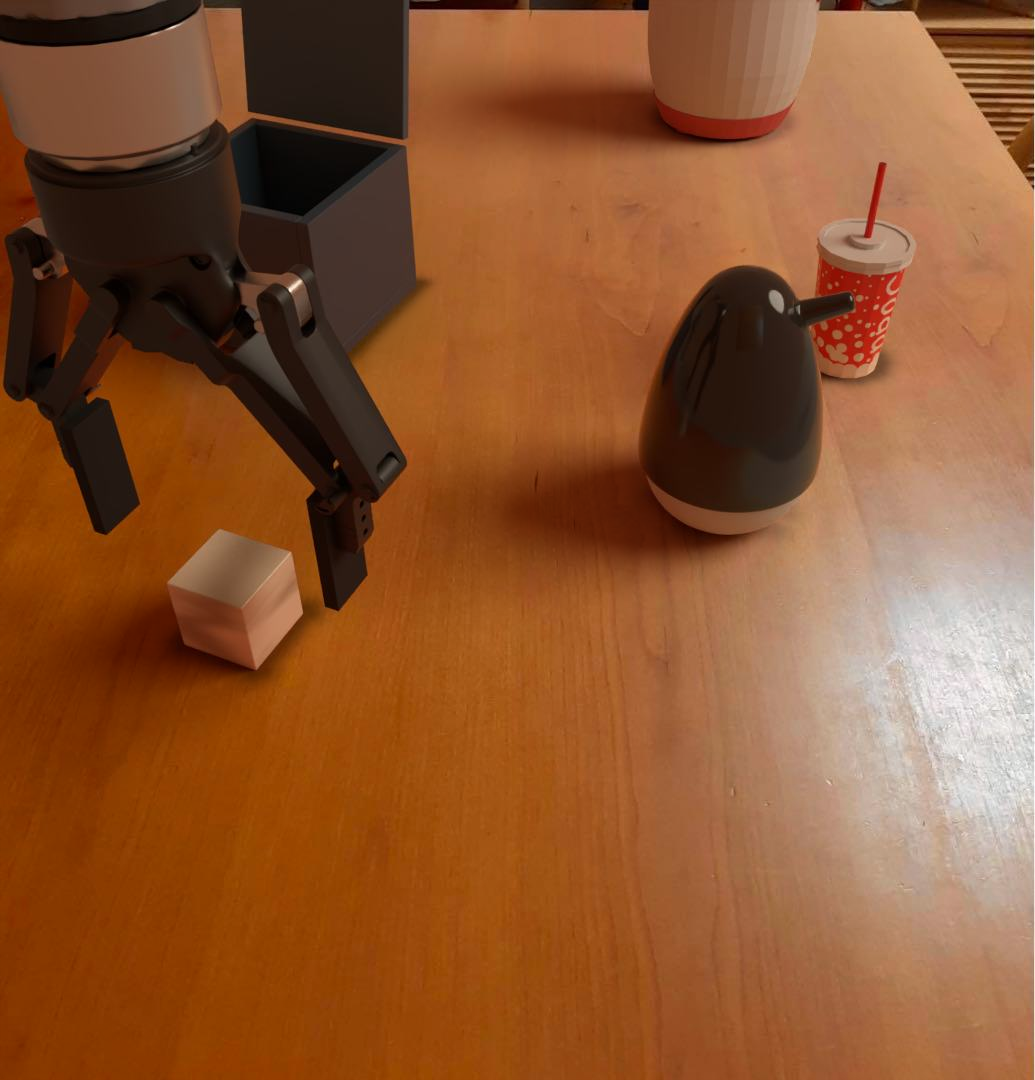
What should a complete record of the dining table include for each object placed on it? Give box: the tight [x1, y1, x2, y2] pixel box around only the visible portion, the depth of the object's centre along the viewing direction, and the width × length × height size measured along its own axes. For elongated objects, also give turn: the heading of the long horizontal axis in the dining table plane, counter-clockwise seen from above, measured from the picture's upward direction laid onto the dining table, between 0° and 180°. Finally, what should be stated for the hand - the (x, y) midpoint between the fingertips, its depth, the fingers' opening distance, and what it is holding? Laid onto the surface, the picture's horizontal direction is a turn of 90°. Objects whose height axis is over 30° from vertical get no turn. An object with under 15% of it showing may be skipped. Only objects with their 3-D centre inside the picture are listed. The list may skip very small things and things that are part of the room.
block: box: [166, 528, 304, 671], centre depth 60 cm, size 4×4×4 cm
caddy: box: [222, 117, 418, 354], centre depth 82 cm, size 13×13×11 cm
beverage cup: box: [810, 161, 918, 379], centre depth 75 cm, size 6×6×14 cm
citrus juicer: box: [647, 0, 822, 140], centre depth 104 cm, size 16×17×20 cm
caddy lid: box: [240, 0, 410, 141], centre depth 79 cm, size 14×13×1 cm
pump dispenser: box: [637, 264, 855, 536], centre depth 63 cm, size 10×10×15 cm
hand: (228, 553), depth 58 cm, fingers open, 13 cm apart
